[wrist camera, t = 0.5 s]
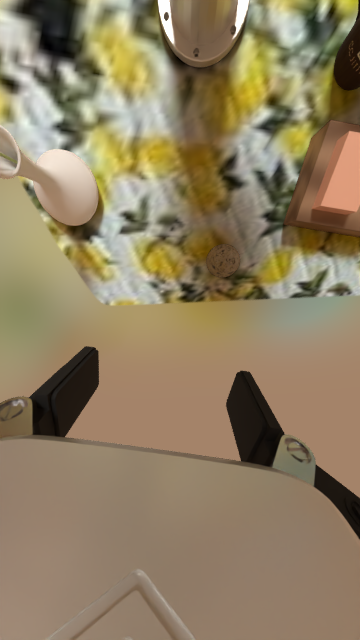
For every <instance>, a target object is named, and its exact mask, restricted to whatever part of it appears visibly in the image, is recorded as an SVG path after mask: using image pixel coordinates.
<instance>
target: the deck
mask: <svg viewBox="0 0 360 640" xmlns="http://www.w3.org/2000/svg"><path fill="white" fill-rule="evenodd" d="M349 131H353V132H358V133H360V125H355V124H350V123H345V122H340V121H334V120H330V121H329V122H328V123H327V124H326V125H325V126H324V127H323V128H322V129H321V130H319V131H318V132H317V133H316V134H315V135H314V136H313V137H312V138H311V141H310V144H309V147H308V150H307V154H306V157H305V160H304V163H303V166H302V169H301V172H300V175H299V178H298V181H297V184H296V187H295V190H294V193H293V196H292V199H291V202H290V205H289V208H288V211H287V214H286V217H285V221H284V225H290V226H296V227H302V228H308V229H314V230H320V231H326V232H331V233H337V234H343V235H349V236H355V237H360V206H359V208H358V210H357V212H354V213H351V214H347V215H344V214H338V213H332V212H327V211H321V210H315V209H312V207H313V204H314V202H315V199H316V196H317V194H318V191H319V188H320V186H321V183H322V180H323V178H324V175H325V172H326V169H327V167H328V164H329V161H330V159H331V156H332V153H333V151H334V148H335V145H336V143H337V140H338V139H340V138H341V137H342V136H343V135H345V134H346V133H347V132H349Z"/></svg>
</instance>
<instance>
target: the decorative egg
mask: <svg viewBox="0 0 360 640" xmlns="http://www.w3.org/2000/svg"><path fill="white" fill-rule="evenodd" d="M206 264H207V268H208V270H209V271H210V273H211V274H213V275H214V276H217V277H227V276H230V275H232V274H233V273H234V272H235V271H236V270H237V269H238V267H239V264H240V256H239V253H238V251H237V250H236V249H235V248H234V247H233V246H231V245H228V244H221V245H217V246H215V247H214V248H213V249H212V250H211V251H210V252H209V254H208V256H207V260H206Z"/></svg>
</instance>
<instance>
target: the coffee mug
mask: <svg viewBox="0 0 360 640" xmlns="http://www.w3.org/2000/svg"><path fill="white" fill-rule="evenodd" d="M358 2H359V4H358V15H357V18H356V22H355V24H354V26H353V28H352V29H351V31H350V32H349V34H348V36H347V37H346V39H345V40H344V42H343V44H342V45H341V47H340V49H339V51H338V53H337V56H336V60H335V65H334V75H335V79H336V82H337V84H338V85H339V86H340V87H341V88H342V89H344V90H354V89H357V88H358V87H360V0H358Z"/></svg>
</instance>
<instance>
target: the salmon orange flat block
mask: <svg viewBox="0 0 360 640" xmlns="http://www.w3.org/2000/svg"><path fill="white" fill-rule="evenodd" d="M359 206H360V133H358V132H353V131H349V132H347V133H346V134H345V135H343V136H342V137H341V138H340V139H338V140H337V143H336V145H335V148H334V151H333V153H332V156H331V159H330V161H329V164H328V167H327V169H326V172H325V175H324V178H323V180H322V183H321V186H320V188H319V191H318V194H317V196H316V199H315V202H314V204H313V207H312V209H315V210H321V211H327V212H332V213H338V214H344V215H347V214H351V213H354V212H357V210H358V208H359Z"/></svg>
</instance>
